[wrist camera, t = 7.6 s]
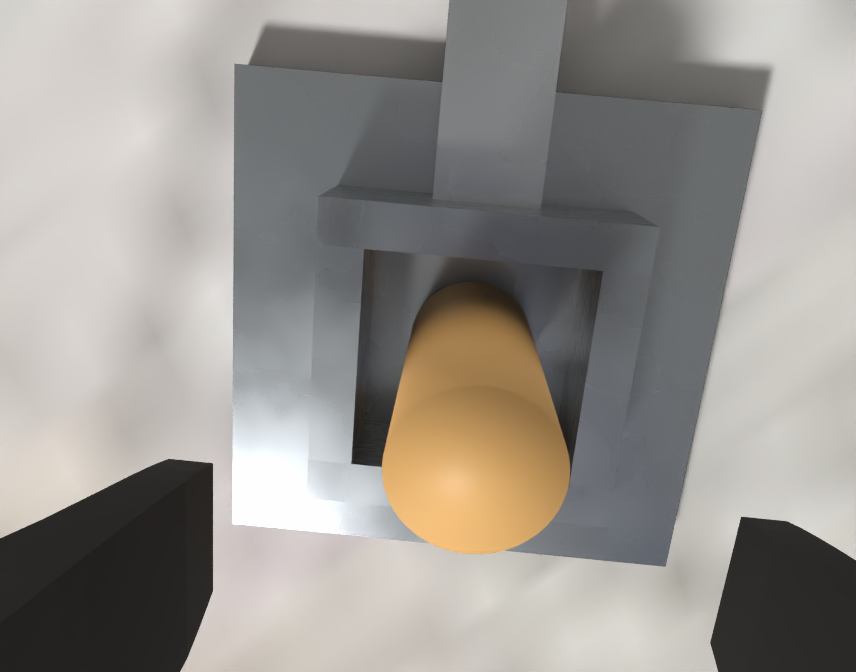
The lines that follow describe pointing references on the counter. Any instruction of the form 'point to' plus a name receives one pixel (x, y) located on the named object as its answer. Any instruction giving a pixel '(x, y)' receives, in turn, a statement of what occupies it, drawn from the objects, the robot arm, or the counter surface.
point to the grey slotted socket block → (476, 271)
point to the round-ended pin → (474, 427)
